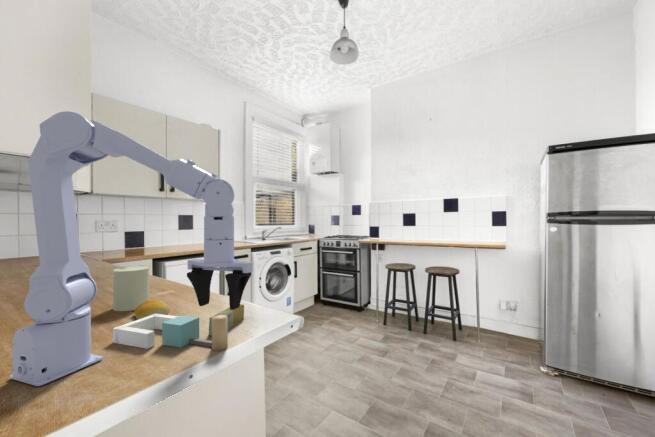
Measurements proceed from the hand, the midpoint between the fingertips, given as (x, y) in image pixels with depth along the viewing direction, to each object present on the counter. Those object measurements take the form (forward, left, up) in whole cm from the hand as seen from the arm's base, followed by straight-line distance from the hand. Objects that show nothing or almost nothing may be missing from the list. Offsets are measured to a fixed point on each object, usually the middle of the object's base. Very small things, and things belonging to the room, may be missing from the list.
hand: (219, 306), depth 58 cm
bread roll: (+11, +32, -9) cm, 35 cm away
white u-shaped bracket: (0, +18, -8) cm, 20 cm away
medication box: (+11, +6, -9) cm, 15 cm away
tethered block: (0, +5, -8) cm, 10 cm away
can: (+15, +45, -9) cm, 48 cm away
